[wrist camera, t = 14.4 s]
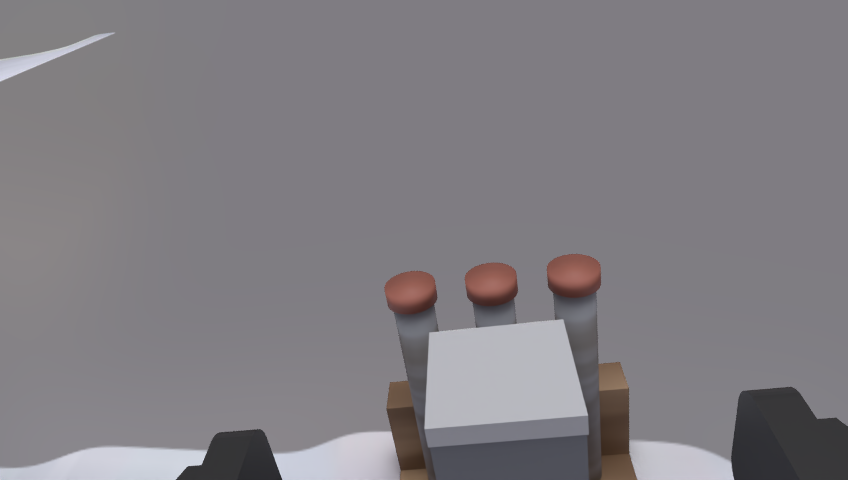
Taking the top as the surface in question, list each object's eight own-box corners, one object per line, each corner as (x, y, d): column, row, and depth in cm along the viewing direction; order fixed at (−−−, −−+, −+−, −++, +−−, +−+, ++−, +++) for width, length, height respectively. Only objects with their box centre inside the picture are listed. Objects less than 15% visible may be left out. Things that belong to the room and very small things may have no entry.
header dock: (727, 787, 22) (763, 531, 16) (374, 794, 23) (284, 560, 17) (620, 433, 36) (618, 227, 30) (405, 450, 37) (361, 256, 31)
